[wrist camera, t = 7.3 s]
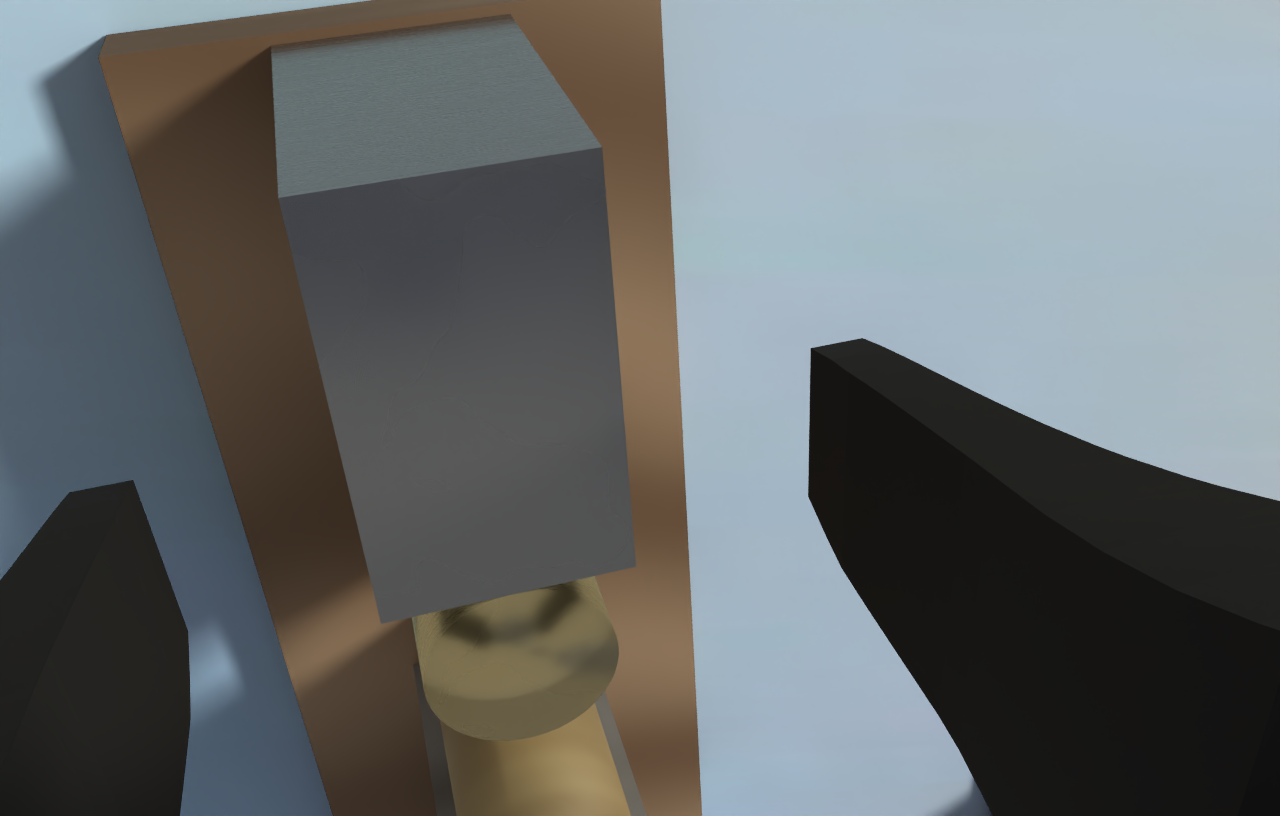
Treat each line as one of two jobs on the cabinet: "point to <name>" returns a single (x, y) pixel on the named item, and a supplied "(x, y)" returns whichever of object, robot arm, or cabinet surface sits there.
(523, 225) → the grey post
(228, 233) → the hinge jig
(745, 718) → the cabinet surface
